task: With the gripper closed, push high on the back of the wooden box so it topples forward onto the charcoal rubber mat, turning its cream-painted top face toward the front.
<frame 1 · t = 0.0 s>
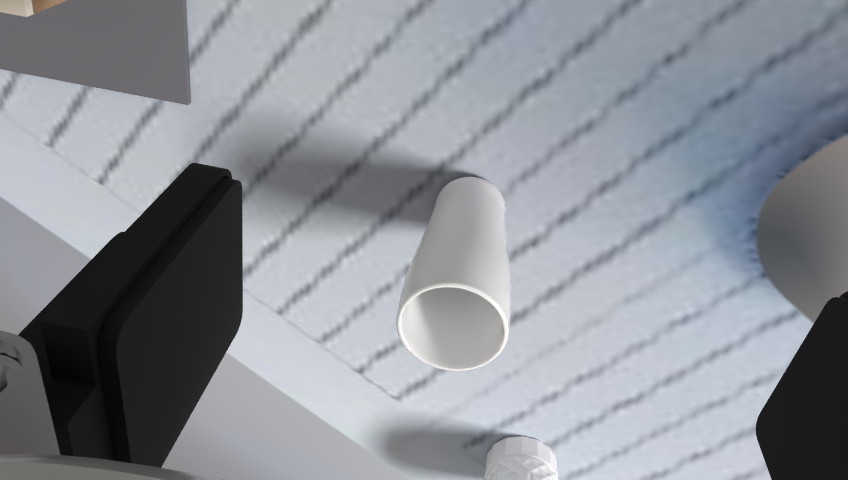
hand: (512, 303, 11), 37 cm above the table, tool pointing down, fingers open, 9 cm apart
white cup: (521, 457, 67), on the table
drinking glass 2: (471, 203, 52), on the table
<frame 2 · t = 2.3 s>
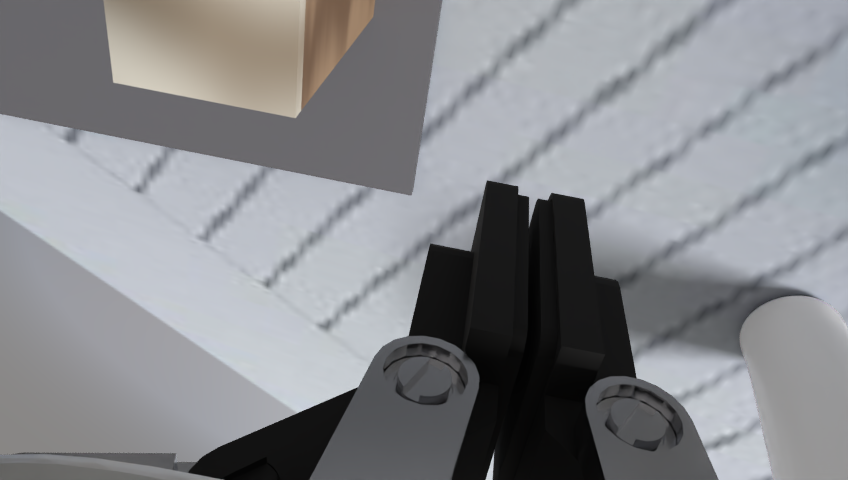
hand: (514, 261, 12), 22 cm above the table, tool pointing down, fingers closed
drinking glass 2: (786, 326, 38), on the table
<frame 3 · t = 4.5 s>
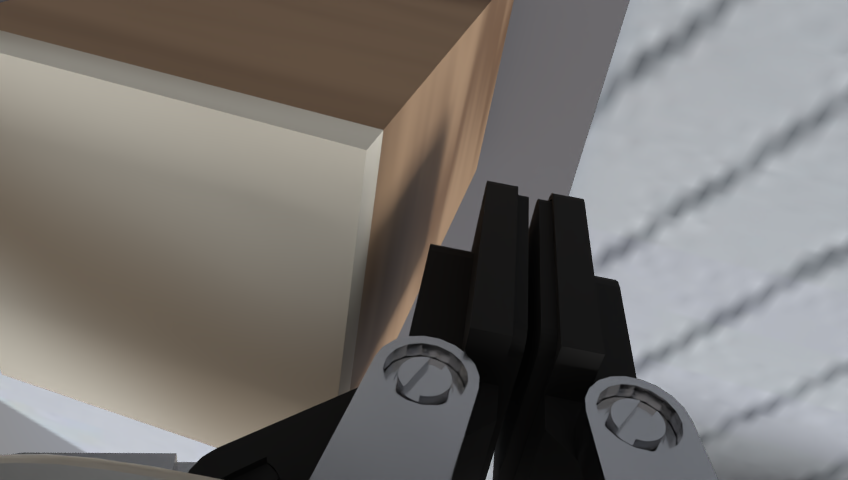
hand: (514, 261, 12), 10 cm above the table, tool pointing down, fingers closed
rubber mat: (206, 4, 20), on the table
wooden box: (395, 51, 19), point 1 cm above the table, tilted 7°, touching gripper, rubber mat
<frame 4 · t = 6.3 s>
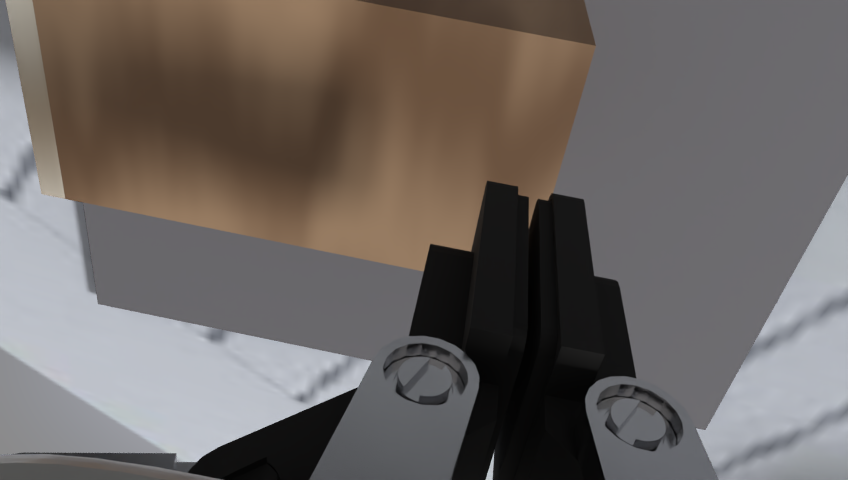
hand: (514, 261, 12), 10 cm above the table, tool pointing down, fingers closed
rubber mat: (450, 61, 20), on the table
wooden box: (552, 127, 17), point 3 cm above the table, tilted 90°, touching rubber mat
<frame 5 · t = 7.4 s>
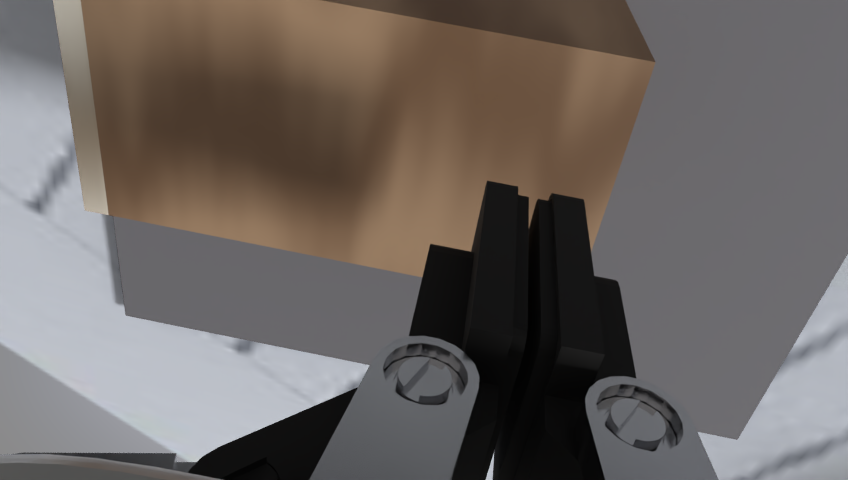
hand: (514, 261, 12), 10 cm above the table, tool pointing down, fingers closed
rubber mat: (488, 73, 20), on the table
wooden box: (597, 140, 17), point 3 cm above the table, tilted 90°, touching rubber mat
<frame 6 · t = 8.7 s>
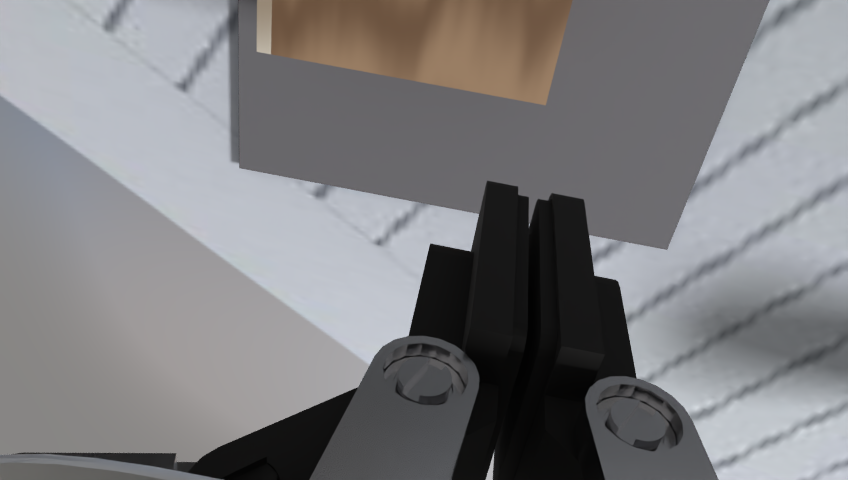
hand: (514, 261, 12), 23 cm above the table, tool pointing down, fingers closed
wooden box: (561, 11, 28), point 3 cm above the table, tilted 90°, touching rubber mat
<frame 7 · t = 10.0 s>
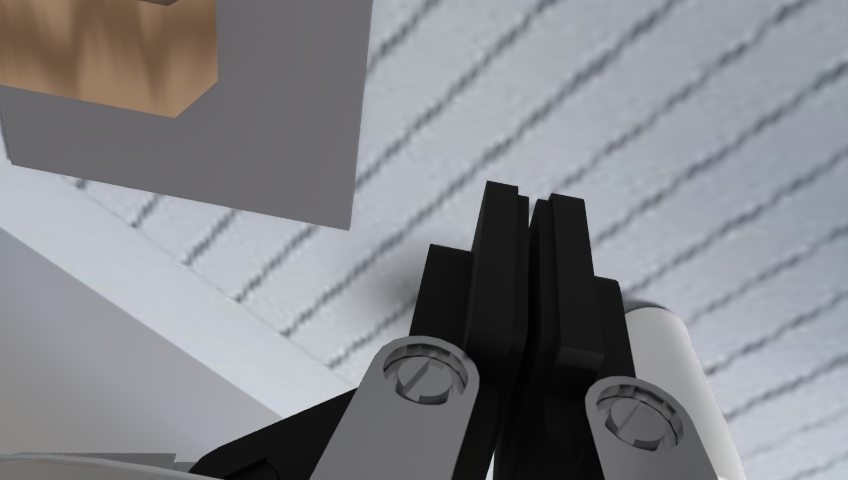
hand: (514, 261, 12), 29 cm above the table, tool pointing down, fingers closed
rubber mat: (171, 21, 41), on the table
drinking glass 2: (646, 331, 49), on the table
wooden box: (195, 47, 38), point 3 cm above the table, tilted 90°, touching rubber mat
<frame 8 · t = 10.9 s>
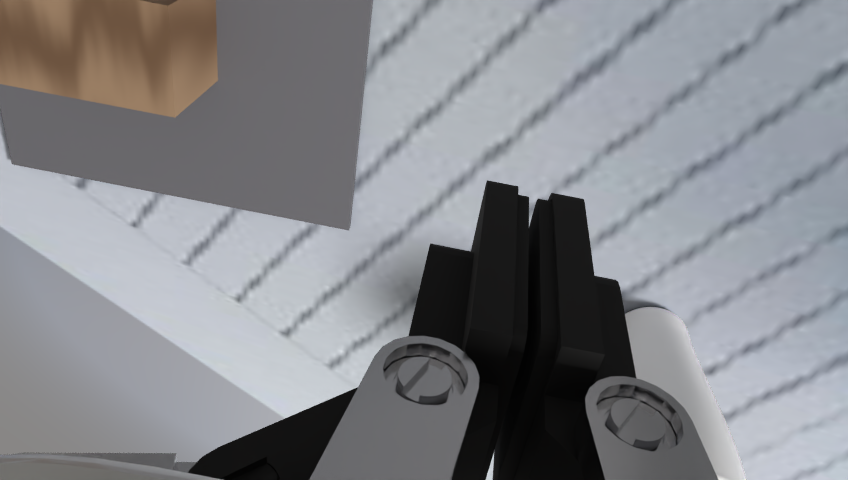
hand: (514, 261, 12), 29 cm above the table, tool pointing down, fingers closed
rubber mat: (171, 21, 41), on the table
drinking glass 2: (646, 330, 49), on the table
wooden box: (195, 47, 38), point 3 cm above the table, tilted 90°, touching rubber mat
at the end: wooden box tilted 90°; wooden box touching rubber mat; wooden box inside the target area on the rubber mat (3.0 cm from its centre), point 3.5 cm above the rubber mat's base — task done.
